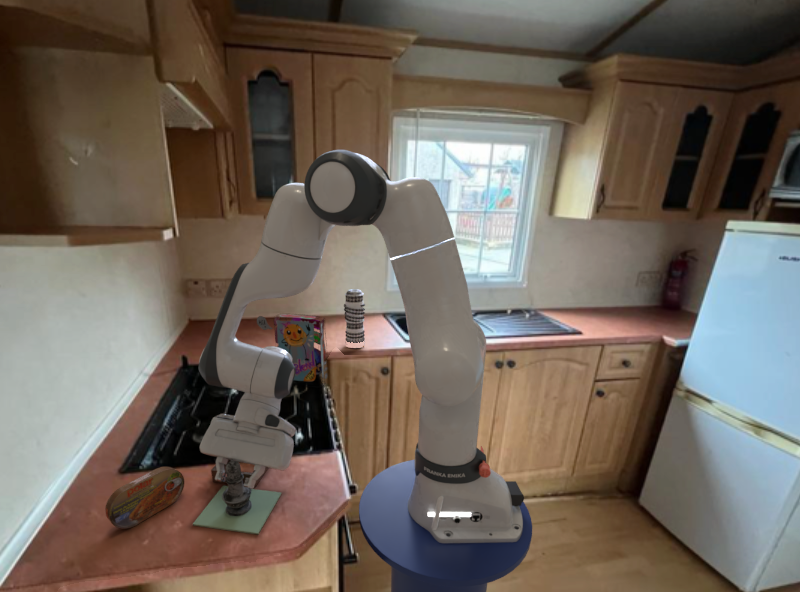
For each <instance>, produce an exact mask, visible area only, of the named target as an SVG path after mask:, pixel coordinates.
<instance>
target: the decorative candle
mask: <svg viewBox="0 0 800 592" xmlns="http://www.w3.org/2000/svg"><path fill="white" fill-rule="evenodd" d="M364 295H365V294H364V292H363V291H362V290H361V289H358V288H357V289H356V288H354V289H348V290H347V291H346V292H345V293H344V296H345V301H344V304H343V307H344V308H343V310H344V321H345V323H346V325H345V342H346V341H347V342H350V343H351V342H353V343H358V342H359V343H360V342H363V341H364V342H365V339H366V337H365V326H364V322H365V316H364V315H365V314H366V312H365V311H366V308H365V306H366V303H364Z"/></svg>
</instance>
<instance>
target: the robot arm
mask: <svg viewBox="0 0 800 592" xmlns="http://www.w3.org/2000/svg"><path fill="white" fill-rule="evenodd" d="M447 213H448V212H447V211H446V209H445V205H444V204H443V201H442V199H441V197H440V194H439V193H438V191H437V189H436V187H435V185H434V184H433V183H432V182H431V181H429V180H428V179H426V178H423V177H418V176H417V177H416V176H414V177H406V178H402V179H400V180H396V181H394V180H393V181H392V180H391V178H390V176H389V174H388V172H387V171H386V170H385V169H384V168H383V166H381V165H379V164H378V163H377V162H374V161H373V160H372V159H371V158H369V157H367V156H365V155H363V154H360V153H357V152H353V151H351V150H347V149H334V150H330V151H327V152H323V154H321V155H319V156H318V157H317V158H316V159H315V160H313V161H312V162H311V165H310V166H309V167H308V169H307V171H306V174H305V178H304V183H303V182H291V183H286V184H284V185H282V186H280V187H279V188H278V189H277V191H276V192H275V195H274V197H273V199H272V201H271V204H270V207H269V210H268V213H267V216H266V219H265V222H264V227H263V229H262V230H263V231H262V235H261V239H260V244H259V248H258V250H257V252H256V254H255V256H254V257H253V259H252V260H251V261H250V262H245V263H242V264H241V265H240V266H239V267H238V268H237V269H236V271H235V273H234V274H233V276H232V278H231V280H230V283H229V285H228V287H227V290H226V292H225V295H224V298H223V300H222V303H221V306H220V308H219V311H218V313H217V317H216V319H215V322H214V324H213V328H212V330H211V333H210V334H209V338H208V340H207V342H206V345H205V347H204V348H203V350H202V352H201V354H200V357H199V360H198V372H199V374H200V376H201V377H202V378H203V380H204V381H205V383H206V384H207V385H209V386H212V387H213V386H214V387H219V388H223V389H224V388H225V389H226V388H227V389H232V390H236V391H240V392H243V395H242V396H241V397H240V400H239V403H238V405H237V408H236V411H235V413H234V414H226V413H220V414H217V415H215V416H214V417H212V419H211V421H210V423H209V424H210V425H209V426H208V428H207V429H206V431H205V433H204V435H203V437H202V439H201V442H200V444H199V451H200V453H201V454H204V455H207V456H210V457H215V458H216V459H215V465H216V468H217V474H216V476H215V480H217V481H221V482H225V480H226V477H227V474H226V473H225V471H224V464H227V462H228V459H229V460H231V459H233V460H234V461H237V462H239V463H243V464H248V465H253V466H254V467H253V471H254V470H255V472H254V473H253V472H252V473H253V474H252V476H251V477H250V478H246V479H245V483H244V487H247V488H251V489H255V487H254V486H255V483H256V480H258V479H259V478H260V476H261V475H262V474H263V473H264V471H265V468H268V469H272V470H276V471H281V472H284V471H286V470H287V469H288V468H289V467H290V465H291V461H292V457H293V452H294V447H295V445H294V444H295V443H294V442H295V441H294V439H293V437H294V436H295V435H296V432H297V431H296V430H297V429H296V427H295V426H294V425H293V424H292V423H290V422H289V421H288V420H286V419H284V418H283V417H281V416H280V412H281V402H282V399H284V398H286V397H287V396H288V395H290V392H291V389H292V386H293V384H294V381H295V380H294V377H295V374H296V369H295V366H294V365H293V363H292V356H291V355H290V354H289V353H288V352H287V351H286V350H284V349H282V348H279V347H277V346H276V345H275V346H274V345H267V346H265V347H261V346H257V345H254V344H251V343H247V342H242V341H241V340H239V339H238V338H237V336H236V334H237V332H238V329H239V327H240V324H241V321H242V319H243V316H244V314H245V311H246V309H247V307H248V305H249V304H250V303H253V302H256V301H260V300H269V299H284V298H285V299H286V298H289V297H293V296H296V295H300V294H301V293H303V292H305V291H306V290H308V289H309V288H310V287H311V286H312V285H313V284H314V282H315V280H316V277H317V275H318V272H319V269H320V266H321V263H322V259H323V255H324V250H325V247H326V246H325V245H326V242H327V240H328V236H329V234H330V232H331V231H332V230H333V228H335V227H336V226H339V227H360V226H370V225H371V226H372V225H373V226H374V227H375V228H376V229H377V230H378V231H379V233H380V234H381V236H382V238H383V241H384V244H385V247H386V250H387V254H388V257H389V259H390V263H391V267H392V269H393V273H394V276H395V280H396V283H397V287H398V290H399V293H400V296H401V299H402V303H403V308H404V312H405V319H406V326H407V332H408V338H409V344H410V349H411V355H412V360H413V367H414V368H413V369H414V381H415V386H416V388H417V390H418V391H419V393H420V394H421V399H420V405H419V411H418V435H417V439H418V440H417V443H416V446H415V451H414V460H415V463H414V469H415V474H416V475H415V481H414V486H413V489H412V493H411V495H410V498H409V500H408V510H409V513H410V515H411V517H412V518H413V519H414V520H415V521H416V522H417V523H418V524H419V525H420V526H422V527H423V528H425V529H426V530H428V531H429V532H430V533H431V535H432V536H433V537H434V538H435V540H436V541H438V542H439V543H497V542H517V541H518V540H519V538H520V537H521V535H522V531H523V519H522V513H521V510H520V507H519V506H521V504H522V502H524V501H525V496H524V493H523V492H522V490H521V488H520V487H519V484H518V482H517V481H516V480H513V481H511V480H509V481H506V479H504V477H503V475H501V474H499V473H498V472H496V471H495V470H494V469H492V468H491V466H490V464H488V463H487V455H486V453H485V450H484V448H483V446H482V445H480V449H479V448H478V447H477V446H478V436H479V425H480V418H481V417H480V415H481V404H482V395H483V385H484V375H485V364H486V357H487V356H486V355H487V338H486V335H485V332H484V331H483V329H482V327H481V326H480V324H479V323H478V322H477V321H476V320H475V319H474V316H473V311H472V305H471V300H470V295H469V288H468V282H467V278H466V276H465V271H464V268H463V264H462V259H461V256H460V252H459V247H458V245H457V240H456V238H455V235H454V231H453V227H452V224H451V221H450V219H449V216H448V214H447ZM448 536H449V537H448Z"/></svg>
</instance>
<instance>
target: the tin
mask: <svg viewBox="0 0 800 592" xmlns="http://www.w3.org/2000/svg"><path fill="white" fill-rule="evenodd" d="M184 488H185V477H184V475H183V474H182V472H181V471H180V470H178V469H175V468H173V467H171V466H160V467H157V468H155V469H153V470H151V471H149V472H147V473H145V474H143V475H142V476H139V477H138V478H135V479H134V480H131V481H130V482H128V483H125V484H124V485H122V486H120V487H118V488H117V489H116V490H114V492H112V494H111V495H110V496H109V498H108V499H107V501H106V503H105V510H104V511H105V516H106V518H107V520H108V521H109V522H110V523H111V525H113V526H114V527H115V528H118V529H123V530H125V529H130V528H134V527H135V526H137V525H139V524H141V523H143V522H144V521H146V520H147V519H149V518H150V517H152V516H154V515H156V514H158V513H159V512H161V511H163V510H164V509H167V507H170V506H171V505H173V504H174V503H175V502H176V501H177V500H178V499H179V498H180V497H181V496H182V493H183V491H184Z"/></svg>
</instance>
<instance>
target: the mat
mask: <svg viewBox="0 0 800 592" xmlns="http://www.w3.org/2000/svg"><path fill="white" fill-rule="evenodd" d="M227 488H228V485H222V486H221V487H220V488H219V490H218V491H217V492H216V494H215V495H214V496H213V497H212V499H211V500H210V501H209V503H208V504H207V505H206V506H205V508H204V509H203V510H202V511H201V513H200V514H199V515H198V516H197V518H196V519H195V520H194V522H193V523H192V526H195V527H201V528H209V529H215V530H223V531H230V532H237V533H245V534H251V535H259V534H260V533H261V531H262V529H263V528H264V526H265V524H266V522H267V520H268V518H269V517H270V515H271V513H272V511H273V510H274V508H275V507H276V505H277V504H278V503H277V502H278V501H279V499H280V498H281V496H282V492H280V491H274V490H265V489H256V488H253V489H251V490H252V491H251V495H250V499H249V500H250V501H251V503H252V507H251V509H250V510H249V511H248V512H247V513H245V514H243V515H240V516H230V515H228V514H227V513H226V507H227V504H226V503H225V501H223V499H222V494H223V492H224V491H225V490H226V489H227Z"/></svg>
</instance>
